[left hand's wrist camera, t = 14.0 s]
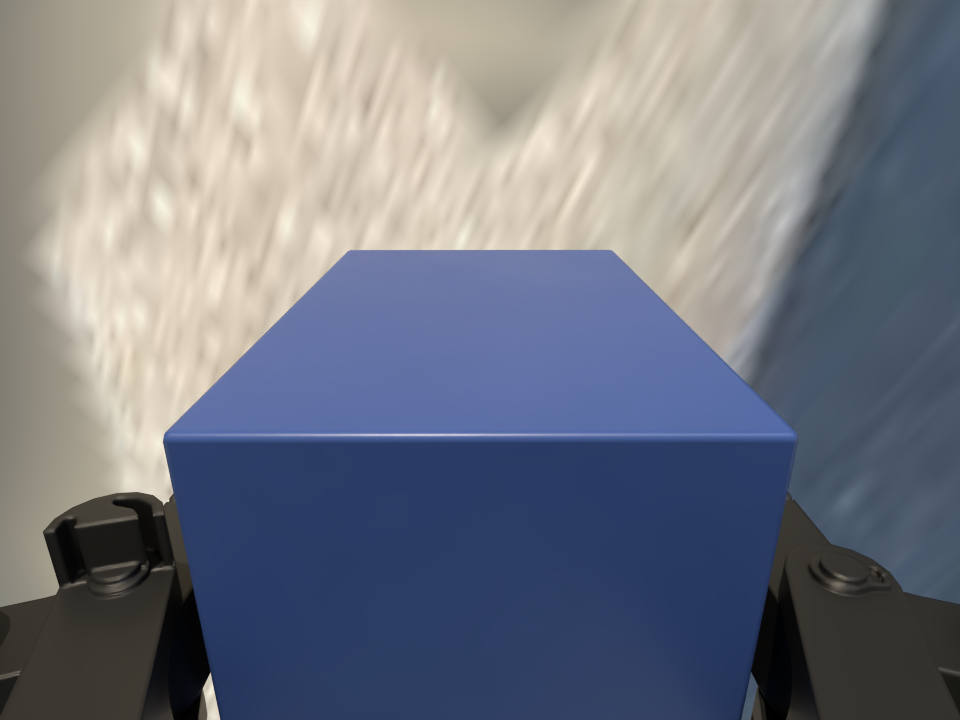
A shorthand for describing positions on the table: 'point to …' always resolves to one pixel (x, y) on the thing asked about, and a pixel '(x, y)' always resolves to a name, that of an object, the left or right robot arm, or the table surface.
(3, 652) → the left robot arm
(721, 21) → the table surface
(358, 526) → the bar
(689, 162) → the table surface
